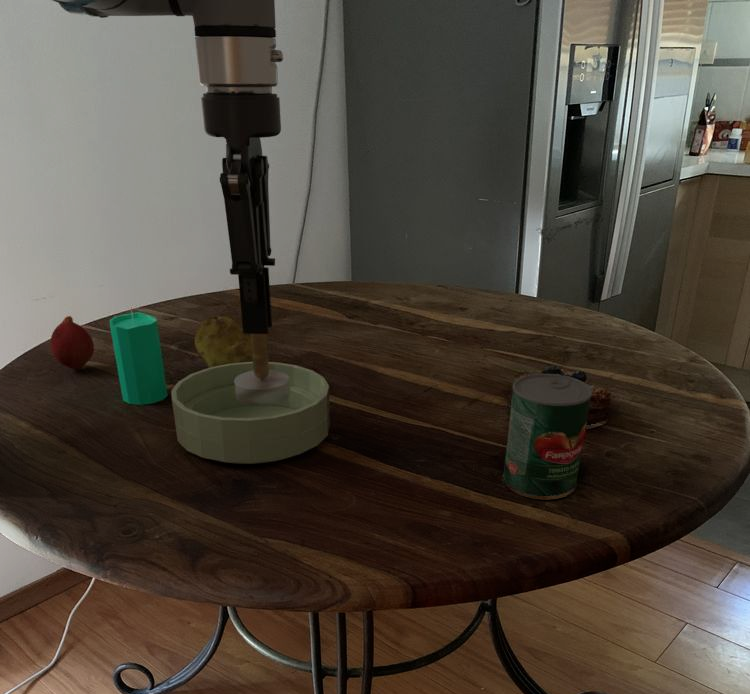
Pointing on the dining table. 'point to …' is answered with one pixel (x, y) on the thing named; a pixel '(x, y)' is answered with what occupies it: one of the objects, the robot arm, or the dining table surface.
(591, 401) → the pastry
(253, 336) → the paper towel holder
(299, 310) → the dining table surface
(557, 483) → the canned tomato
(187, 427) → the bowl
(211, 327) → the potato
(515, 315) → the dining table surface
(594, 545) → the dining table surface
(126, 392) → the candle
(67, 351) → the onion
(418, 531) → the dining table surface
